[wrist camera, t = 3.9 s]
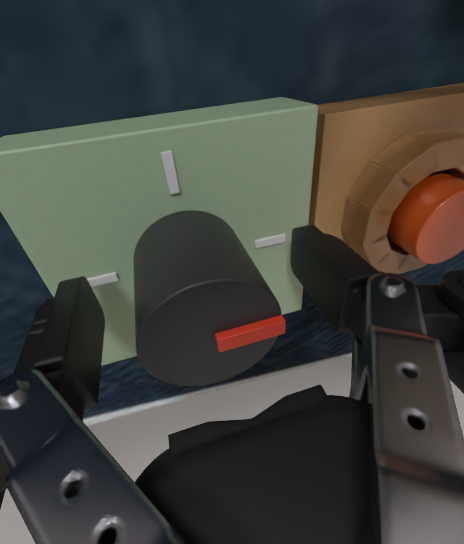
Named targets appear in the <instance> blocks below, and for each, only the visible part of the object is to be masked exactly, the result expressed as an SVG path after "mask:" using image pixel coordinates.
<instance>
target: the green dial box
mask: <svg viewBox="0 0 464 544" xmlns="http://www.w3.org/2000/svg"><path fill="white" fill-rule="evenodd" d="M317 115H318V105H316V104H312V103H307V102H303V101H298V100H294V99H289V98H285V97H278V98H271V99H264V100H257V101H249V102H242V103H235V104H228V105H221V106H214V107H207V108H200V109H192V110H185V111H178V112H171V113H164V114H157V115H150V116H143V117H136V118H128V119H121V120H114V121H107V122H100V123H93V124H86V125H79V126H71V127H64V128H57V129H50V130H43V131H36V132H29V133H22V134H15V135H7V136H3V137H1V138H0V211H1V213H2V214H3V216H4V218H5V219H6V221H7V223H8V224H9V226H10V227H11V229H12V231H13V232H14V234H15V235H16V237H17V239H18V240H19V242H20V244H21V245H22V247H23V248H24V250H25V252H26V253H27V255H28V257H29V258H30V260H31V261H32V263H33V265H34V266H35V268H36V269H37V271H38V273H39V274H40V276H41V278H42V279H43V281H44V282H45V284H46V286H47V287H48V289H49V290H50V292H51V294H52V295H53V297H55V294H56V290H57V287H58V284H59V282H60V281H64V280H68V279H72V278H77V277H81V276H84V277H86V278H87V280H88V282H89V284H90V286H91V288H92V290H93V292H94V294H95V295H96V297H97V299H98V301H99V303H100V305H101V307H102V310H103V313H104V317H105V331H104V342H103V352H102V363H101V366H102V365H106V364H109V363H113V362H116V361H120V360H123V359H127V358H131V357H134V356H138V355H137V352H136V338H135V302H134V266H133V258H134V251H135V247H136V245H137V242H138V240H139V239H140V237H141V235H142V234H143V233H144V232H145V230H146V229H147V228H148V227H149V226H150V225H152V224H153V223H154V222H156V221H157V220H159V219H161V218H162V217H164V216H167V215H169V214H172V213H175V212H179V211H187V210H195V211H203V212H207V213H210V214H213V215H216V216H217V217H219V218H221V219H222V220H224V221H225V222H226V223H227V224H228V225H229V226H230V227H231V228H232V229H233V231H234V232H235V234H236V235H237V237H238V238H239V240H240V242H241V243H242V245H243V246H244V248H245V250H246V251H247V253H248V254H249V256H250V257H251V259H252V261H253V262H254V264H255V265H256V267H257V269H258V270H259V272H260V273H261V275H262V277H263V278H264V280H265V281H266V283H267V285H268V286H269V288H270V289H271V291H272V292H273V294H274V296H275V297H276V299H277V301H278V303H279V305H280V308H281V312H282V315H283V314H287V313H290V312H294V311H297V310H300V309H301V307H302V295H303V286H302V284H301V283H300V282H299V280H298V279H297V278H296V277H295V275H294V273H293V271H292V268H291V262H290V259H291V234H292V230H293V229H294V228H297V227H301V226H305V225H308V223H309V211H310V199H311V187H312V175H313V163H314V151H315V139H316V127H317Z"/></svg>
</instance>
